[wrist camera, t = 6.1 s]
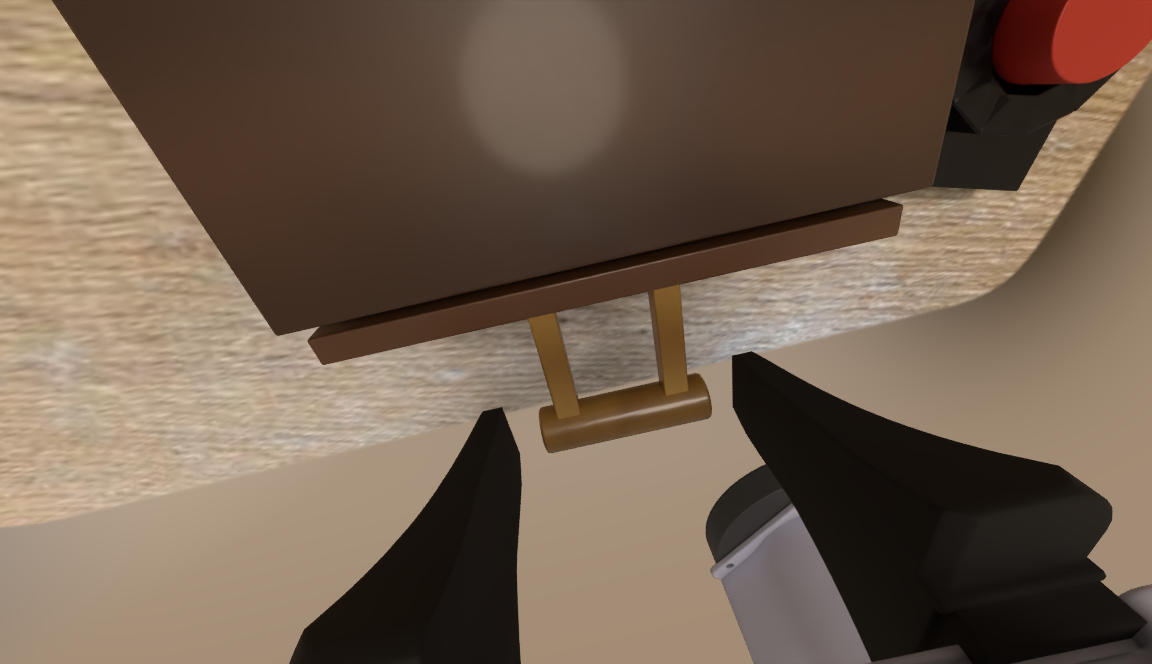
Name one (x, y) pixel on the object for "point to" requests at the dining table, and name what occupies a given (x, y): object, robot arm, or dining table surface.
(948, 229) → the dining table surface
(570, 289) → the door
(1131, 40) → the button
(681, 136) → the compartment
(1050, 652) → the robot arm
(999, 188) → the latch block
